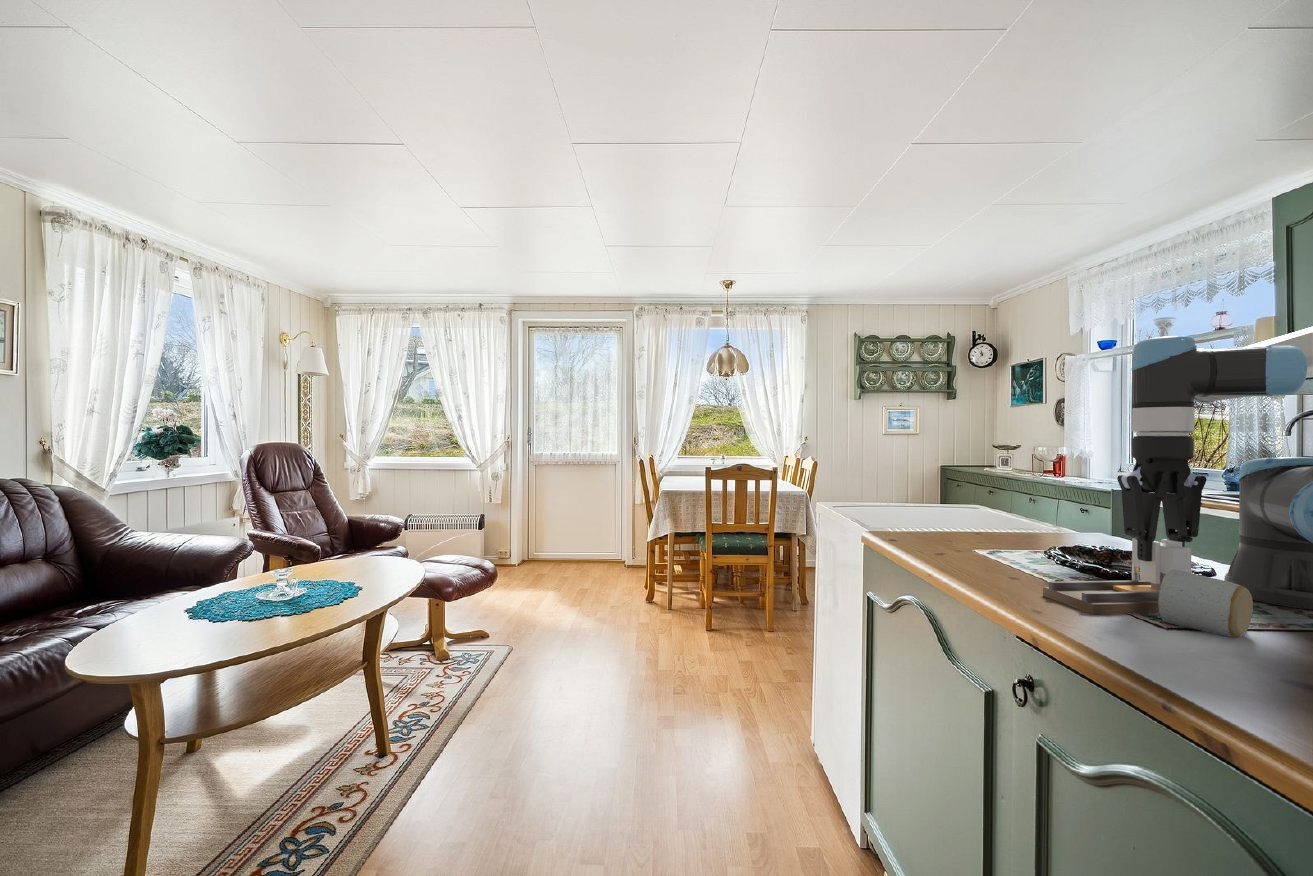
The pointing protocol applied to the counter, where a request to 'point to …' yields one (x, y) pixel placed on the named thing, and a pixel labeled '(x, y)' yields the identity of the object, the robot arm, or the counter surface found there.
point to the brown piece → (1103, 596)
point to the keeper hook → (1135, 570)
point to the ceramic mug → (1205, 603)
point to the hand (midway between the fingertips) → (1160, 581)
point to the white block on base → (1161, 565)
